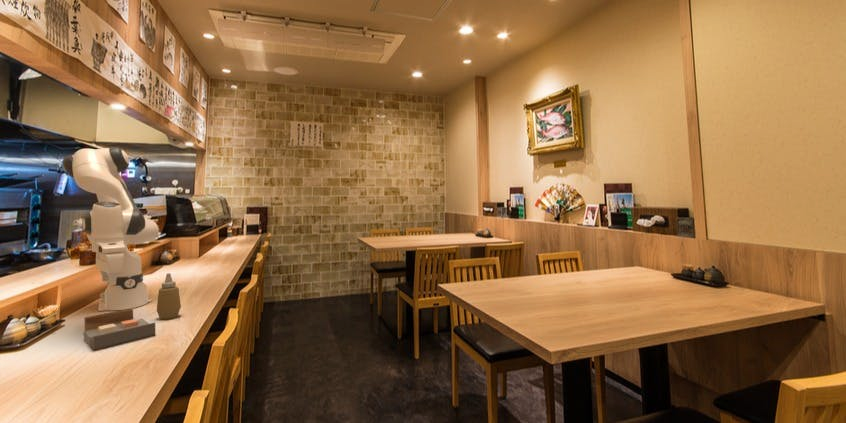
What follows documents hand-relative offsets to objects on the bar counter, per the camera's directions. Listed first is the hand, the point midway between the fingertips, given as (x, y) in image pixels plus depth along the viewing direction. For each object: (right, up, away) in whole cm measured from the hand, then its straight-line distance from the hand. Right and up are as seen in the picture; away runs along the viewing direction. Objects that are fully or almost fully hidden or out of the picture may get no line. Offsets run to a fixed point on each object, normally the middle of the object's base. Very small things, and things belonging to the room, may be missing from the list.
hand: (108, 283), depth 128 cm
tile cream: (+8, -14, -9) cm, 19 cm away
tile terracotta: (+11, -14, -4) cm, 19 cm away
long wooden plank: (0, -17, 0) cm, 17 cm away
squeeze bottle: (+12, -17, +14) cm, 25 cm away
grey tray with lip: (+11, -17, -8) cm, 22 cm away
